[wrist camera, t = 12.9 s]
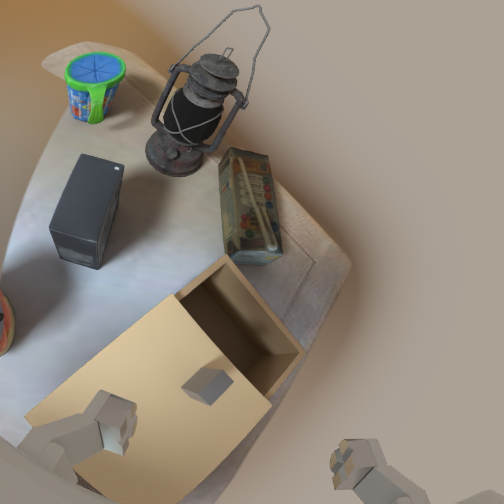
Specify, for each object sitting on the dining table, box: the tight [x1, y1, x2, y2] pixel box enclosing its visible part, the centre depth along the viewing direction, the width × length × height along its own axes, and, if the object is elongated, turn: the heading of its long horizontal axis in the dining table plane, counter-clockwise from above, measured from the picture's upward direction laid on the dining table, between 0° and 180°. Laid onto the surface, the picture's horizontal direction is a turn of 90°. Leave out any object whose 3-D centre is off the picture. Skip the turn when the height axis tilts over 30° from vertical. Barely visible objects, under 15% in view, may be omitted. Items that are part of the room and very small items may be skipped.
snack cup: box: [65, 52, 126, 124], centre depth 37 cm, size 16×10×10 cm
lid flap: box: [24, 293, 273, 504], centre depth 21 cm, size 21×17×6 cm
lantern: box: [145, 5, 270, 177], centre depth 35 cm, size 12×11×30 cm
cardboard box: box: [174, 254, 306, 400], centre depth 32 cm, size 20×16×10 cm
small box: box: [49, 153, 124, 270], centre depth 32 cm, size 11×6×10 cm, turn 175°
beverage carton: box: [218, 147, 283, 265], centre depth 47 cm, size 8×19×7 cm, turn 7°
